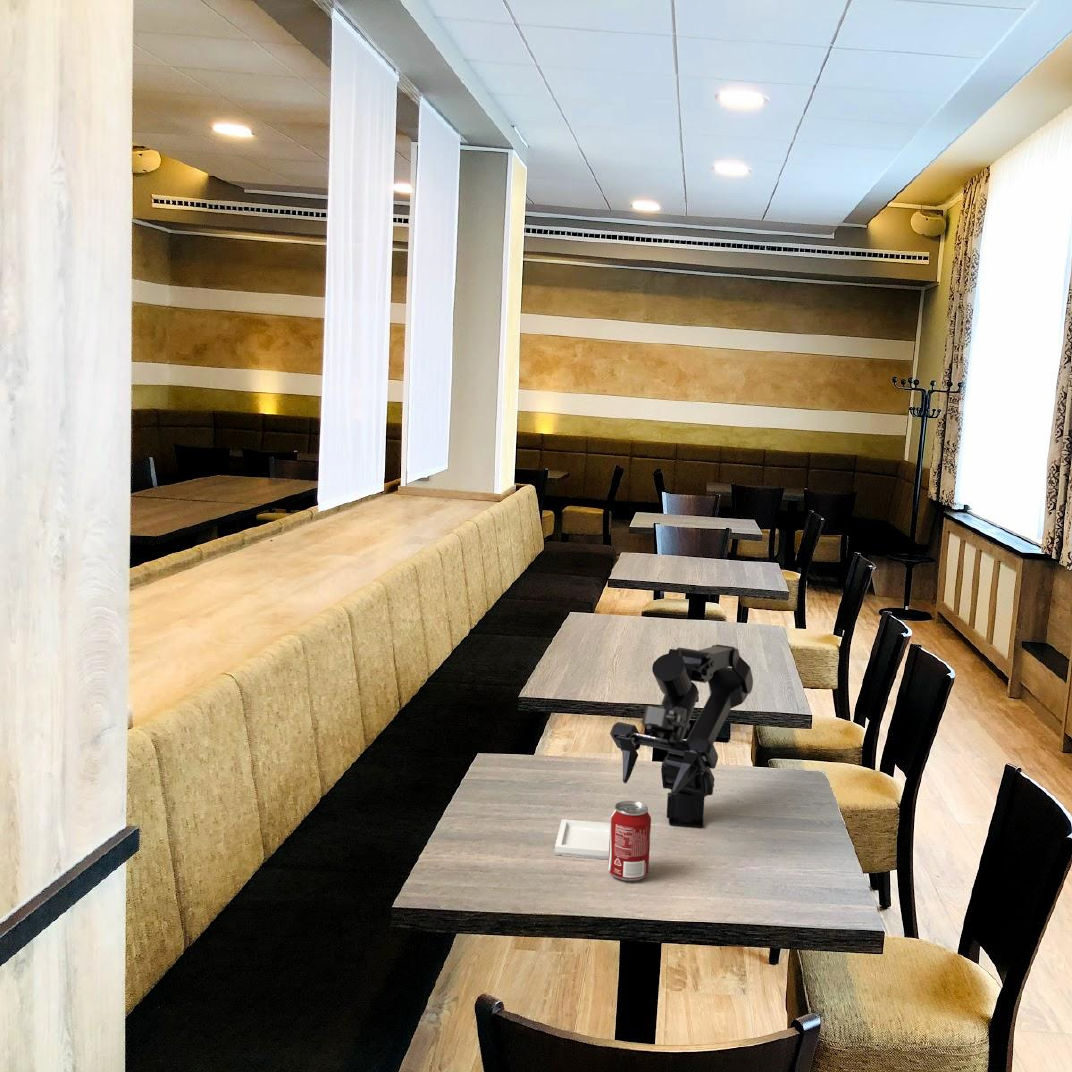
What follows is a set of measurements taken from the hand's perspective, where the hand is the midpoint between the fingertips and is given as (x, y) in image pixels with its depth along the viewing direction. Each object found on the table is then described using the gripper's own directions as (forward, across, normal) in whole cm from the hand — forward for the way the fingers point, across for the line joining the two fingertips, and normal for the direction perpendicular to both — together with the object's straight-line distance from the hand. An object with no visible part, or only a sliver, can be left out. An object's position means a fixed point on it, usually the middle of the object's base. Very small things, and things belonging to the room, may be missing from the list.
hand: (648, 787), depth 191 cm
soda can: (+14, 0, +4) cm, 15 cm away
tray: (+9, -11, +9) cm, 17 cm away
